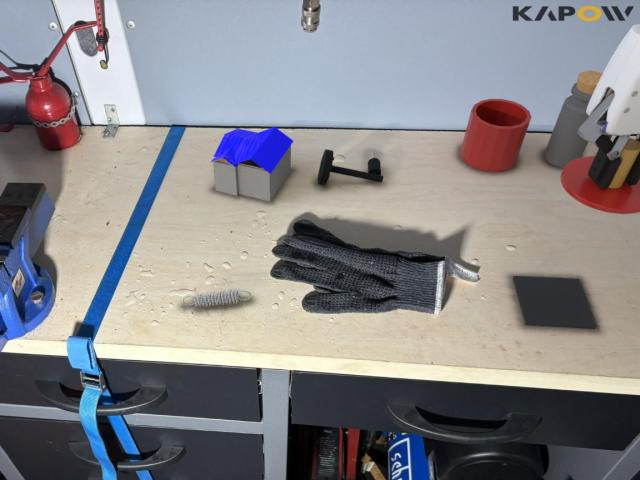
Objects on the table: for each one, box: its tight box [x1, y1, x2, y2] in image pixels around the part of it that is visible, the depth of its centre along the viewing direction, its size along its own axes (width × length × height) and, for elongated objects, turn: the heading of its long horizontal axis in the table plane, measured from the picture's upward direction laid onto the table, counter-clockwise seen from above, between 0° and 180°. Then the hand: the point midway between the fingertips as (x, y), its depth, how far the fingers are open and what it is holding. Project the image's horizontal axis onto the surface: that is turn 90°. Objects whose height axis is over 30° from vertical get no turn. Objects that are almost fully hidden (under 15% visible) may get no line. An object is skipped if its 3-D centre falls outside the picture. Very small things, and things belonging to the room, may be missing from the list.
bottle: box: [543, 70, 603, 169], centre depth 100 cm, size 6×6×15 cm
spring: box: [181, 289, 252, 308], centre depth 86 cm, size 10×2×2 cm, turn 95°
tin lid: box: [560, 137, 640, 215], centre depth 68 cm, size 10×10×6 cm
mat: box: [512, 275, 597, 330], centre depth 83 cm, size 9×9×1 cm
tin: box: [460, 98, 532, 173], centre depth 104 cm, size 9×9×8 cm
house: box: [210, 126, 294, 202], centre depth 103 cm, size 10×11×8 cm
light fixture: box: [317, 148, 385, 186], centre depth 105 cm, size 6×11×13 cm
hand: (611, 179), depth 69 cm, fingers closed on tin lid, 2 cm apart
